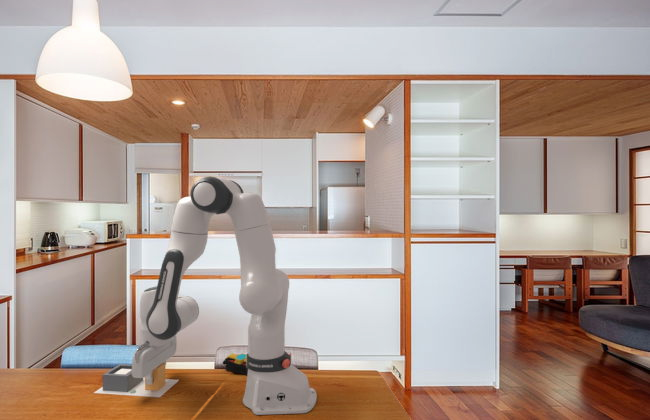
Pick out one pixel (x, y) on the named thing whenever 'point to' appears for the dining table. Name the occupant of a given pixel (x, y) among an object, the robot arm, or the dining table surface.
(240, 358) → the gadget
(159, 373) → the orange rectangular block
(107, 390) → the breaker panel
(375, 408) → the dining table surface
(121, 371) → the button
